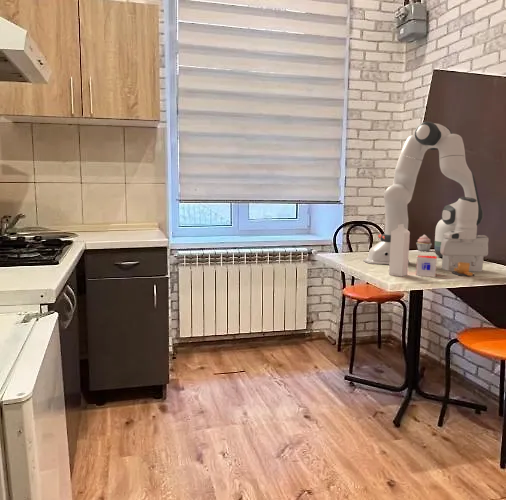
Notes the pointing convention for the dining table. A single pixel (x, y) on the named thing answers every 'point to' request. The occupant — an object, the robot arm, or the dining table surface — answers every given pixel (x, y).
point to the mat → (460, 274)
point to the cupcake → (424, 243)
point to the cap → (463, 268)
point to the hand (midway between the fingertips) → (463, 265)
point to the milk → (399, 251)
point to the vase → (441, 235)
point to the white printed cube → (426, 265)
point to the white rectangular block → (457, 259)
